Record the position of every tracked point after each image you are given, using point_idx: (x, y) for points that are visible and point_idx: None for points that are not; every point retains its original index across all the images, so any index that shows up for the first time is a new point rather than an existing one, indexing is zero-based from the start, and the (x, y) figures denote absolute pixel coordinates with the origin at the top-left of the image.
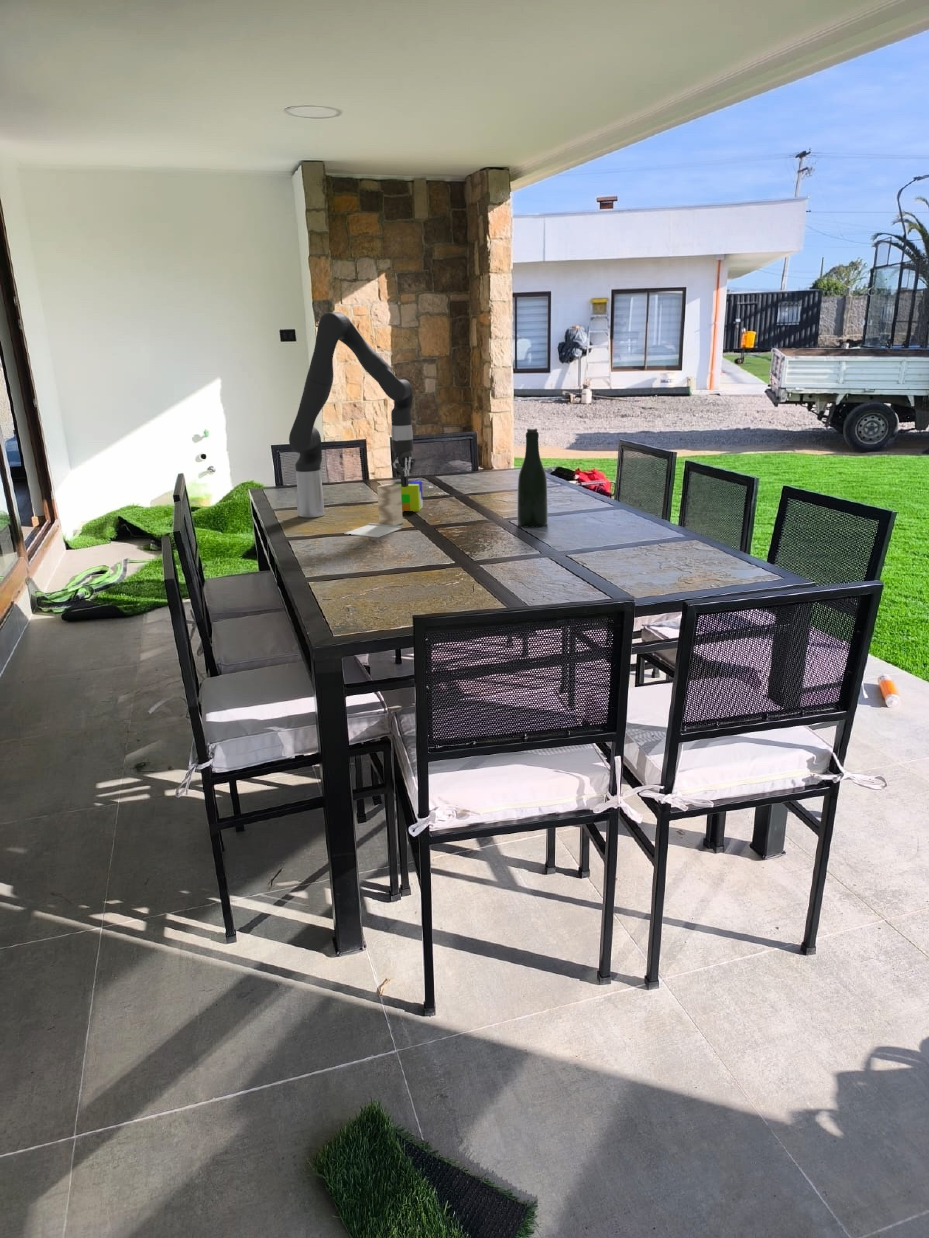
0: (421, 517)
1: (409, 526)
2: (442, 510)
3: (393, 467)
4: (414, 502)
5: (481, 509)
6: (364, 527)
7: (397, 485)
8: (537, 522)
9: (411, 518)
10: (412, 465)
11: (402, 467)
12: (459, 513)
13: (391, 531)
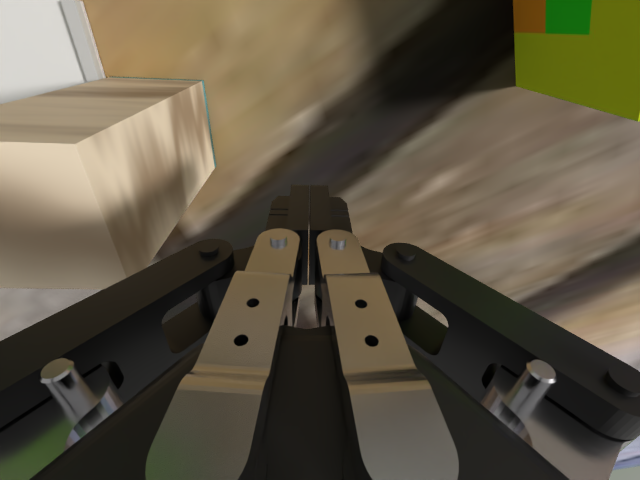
0: (370, 175)
1: (191, 216)
2: (538, 188)
3: (32, 343)
4: (546, 67)
5: (549, 304)
6: (2, 23)
7: (88, 283)
8: None
9: (336, 141)
10: (459, 378)
11: (325, 313)
12: (472, 271)
13: None
